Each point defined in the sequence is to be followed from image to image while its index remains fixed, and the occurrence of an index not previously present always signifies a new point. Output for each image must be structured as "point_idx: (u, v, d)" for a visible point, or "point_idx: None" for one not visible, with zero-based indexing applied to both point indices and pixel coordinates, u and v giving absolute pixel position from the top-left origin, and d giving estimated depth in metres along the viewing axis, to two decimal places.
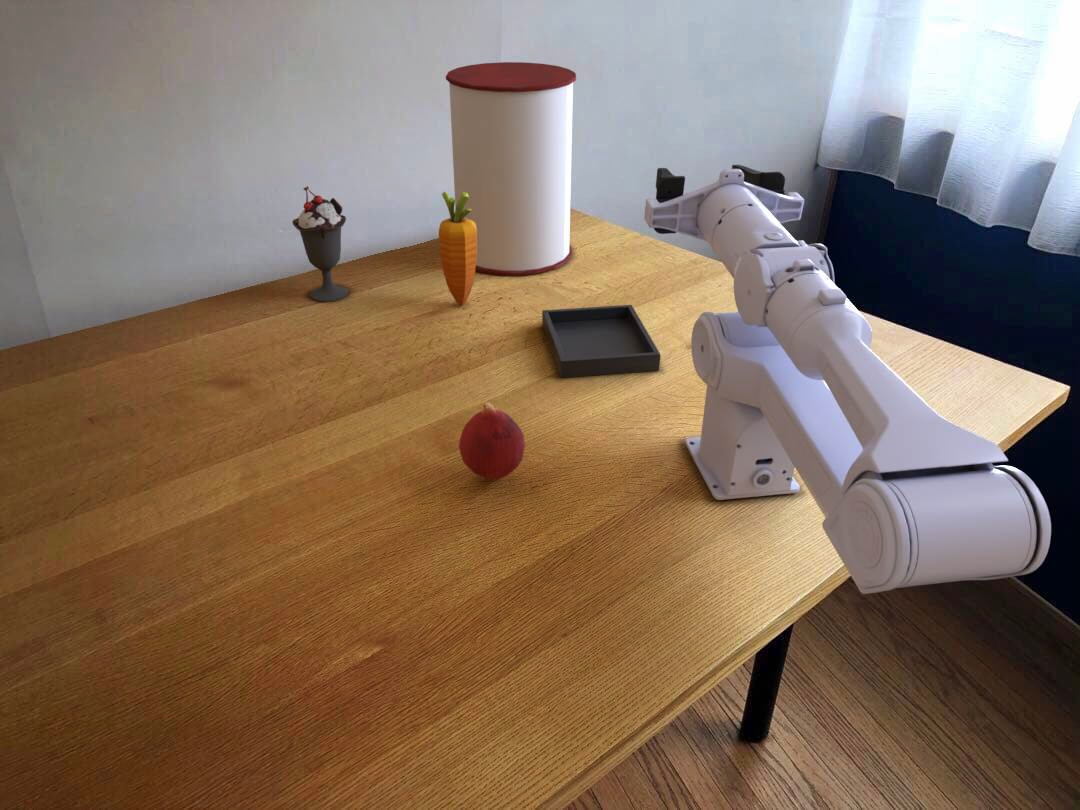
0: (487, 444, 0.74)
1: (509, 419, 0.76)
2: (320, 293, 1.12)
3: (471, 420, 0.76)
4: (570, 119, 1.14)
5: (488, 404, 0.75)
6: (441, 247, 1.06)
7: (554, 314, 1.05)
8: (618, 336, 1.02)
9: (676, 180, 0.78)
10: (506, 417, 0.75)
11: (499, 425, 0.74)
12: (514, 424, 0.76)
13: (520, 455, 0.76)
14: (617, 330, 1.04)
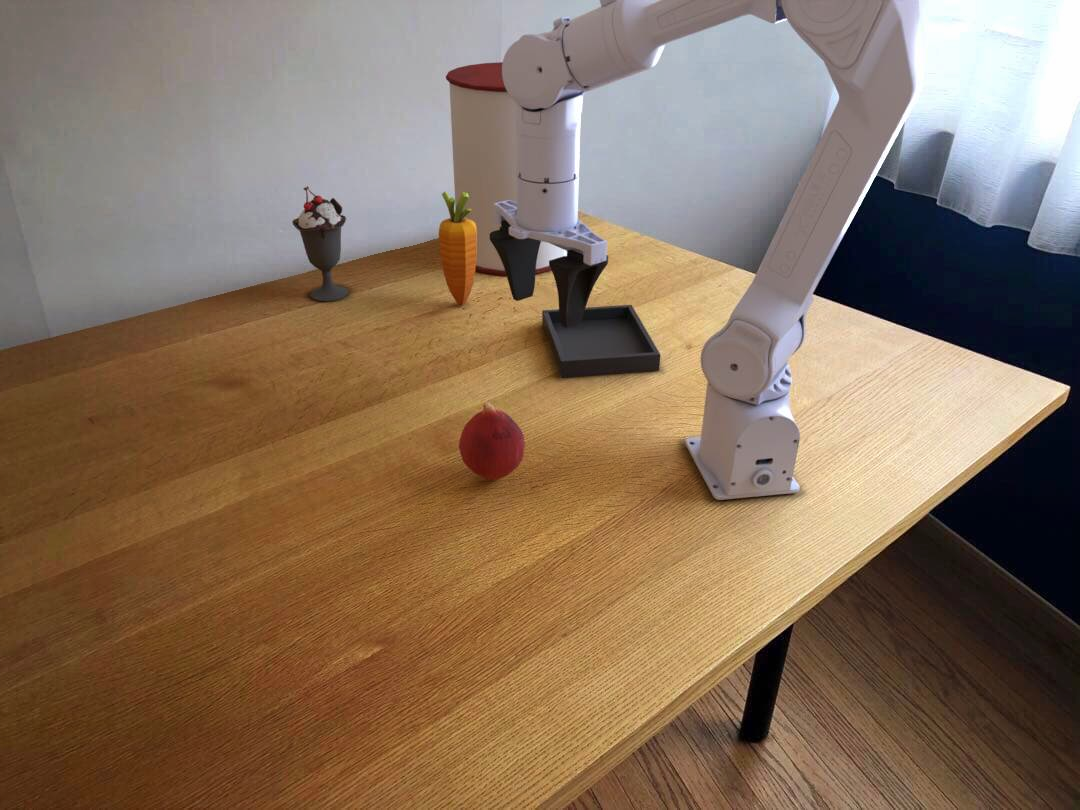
0: (487, 445, 0.74)
1: (509, 419, 0.76)
2: (320, 293, 1.12)
3: (471, 420, 0.76)
4: None
5: (488, 404, 0.75)
6: (441, 247, 1.06)
7: (554, 314, 1.05)
8: (618, 336, 1.02)
9: (556, 262, 0.77)
10: (506, 417, 0.75)
11: (499, 425, 0.74)
12: (514, 424, 0.76)
13: (520, 455, 0.76)
14: (617, 330, 1.04)
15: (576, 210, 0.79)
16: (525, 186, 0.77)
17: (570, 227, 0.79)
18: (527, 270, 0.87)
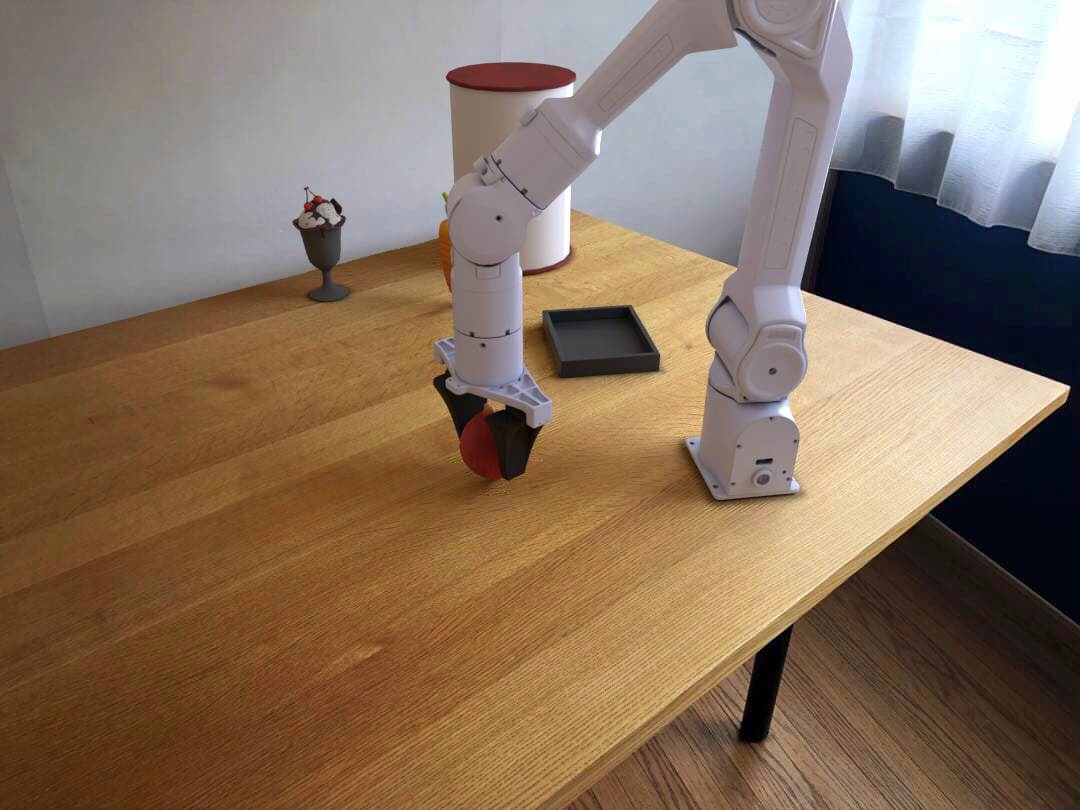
0: (488, 445, 0.74)
1: None
2: (320, 293, 1.12)
3: (471, 420, 0.76)
4: None
5: (488, 404, 0.75)
6: (441, 247, 1.06)
7: (554, 314, 1.05)
8: (618, 336, 1.02)
9: (492, 419, 0.70)
10: None
11: None
12: None
13: None
14: (617, 330, 1.04)
15: (520, 361, 0.71)
16: (462, 339, 0.69)
17: (513, 380, 0.71)
18: None
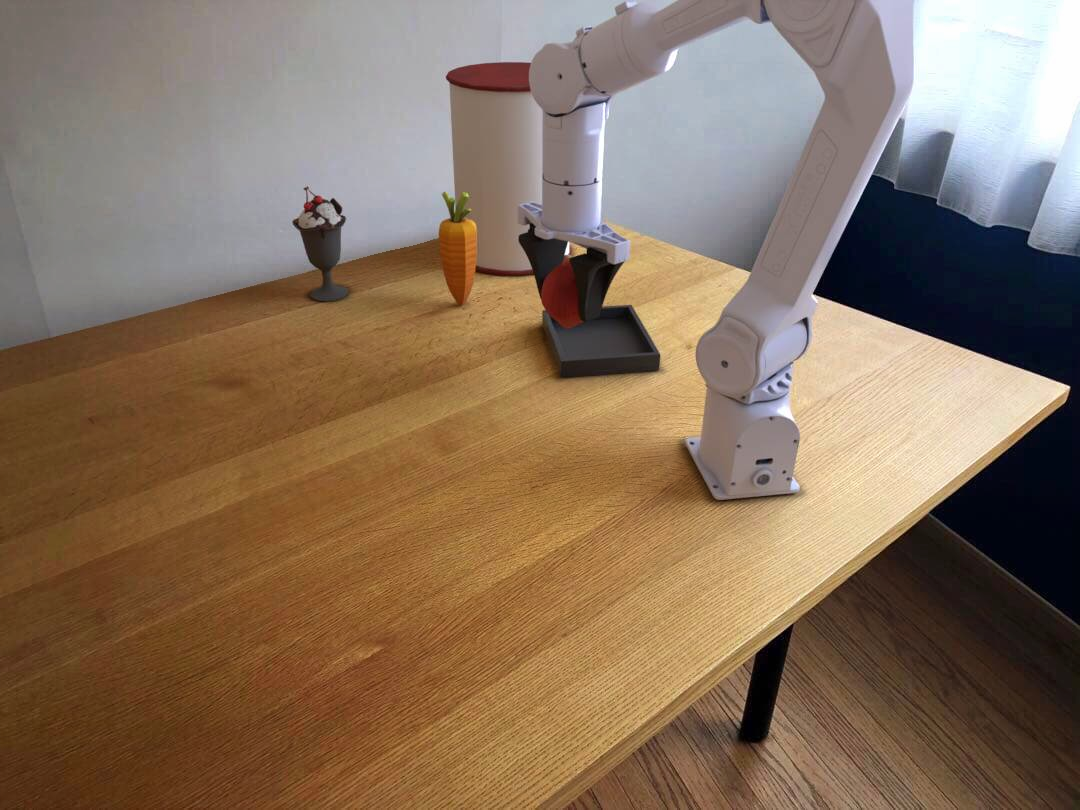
0: (568, 289, 0.85)
1: None
2: (320, 293, 1.12)
3: (552, 271, 0.87)
4: None
5: (568, 255, 0.86)
6: (441, 247, 1.06)
7: None
8: (618, 336, 1.02)
9: (577, 259, 0.81)
10: None
11: None
12: None
13: None
14: (617, 330, 1.04)
15: (599, 211, 0.82)
16: (551, 188, 0.80)
17: (594, 228, 0.82)
18: None
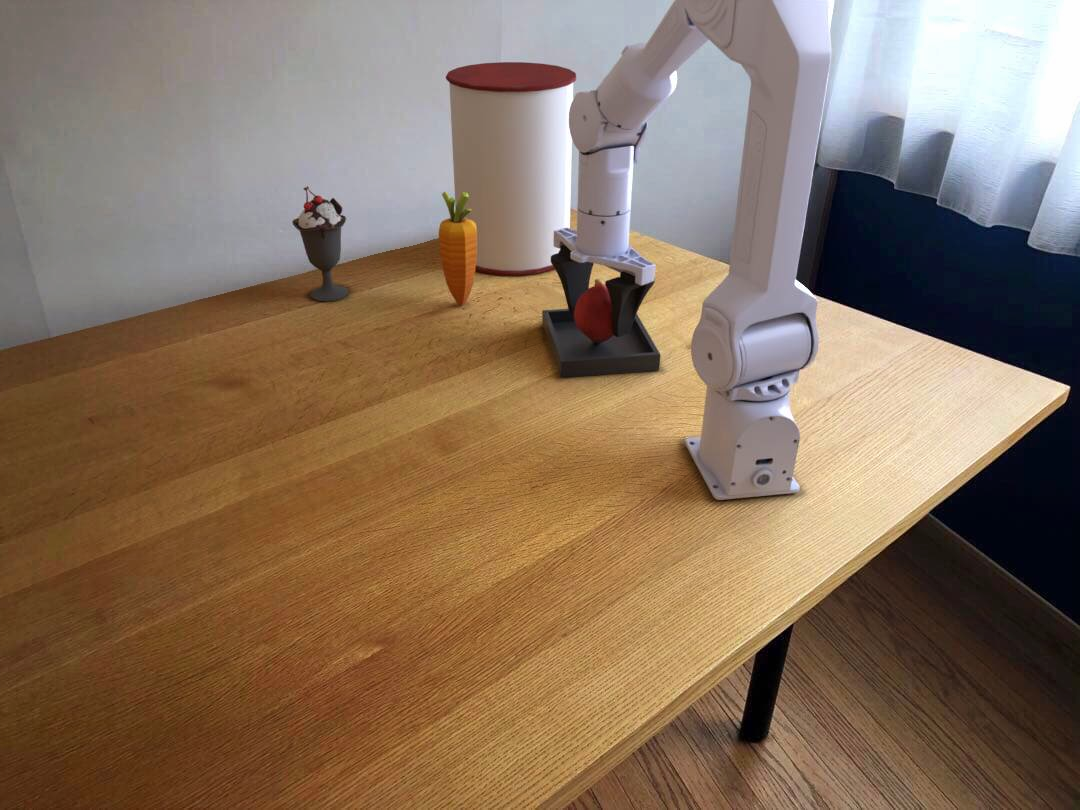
0: (599, 310, 0.96)
1: None
2: (320, 293, 1.12)
3: (584, 293, 0.98)
4: None
5: (599, 279, 0.97)
6: (441, 247, 1.06)
7: (554, 314, 1.05)
8: None
9: (612, 282, 0.91)
10: None
11: (608, 295, 0.96)
12: None
13: None
14: None
15: (627, 238, 0.93)
16: (586, 218, 0.91)
17: (622, 252, 0.93)
18: (582, 287, 1.01)
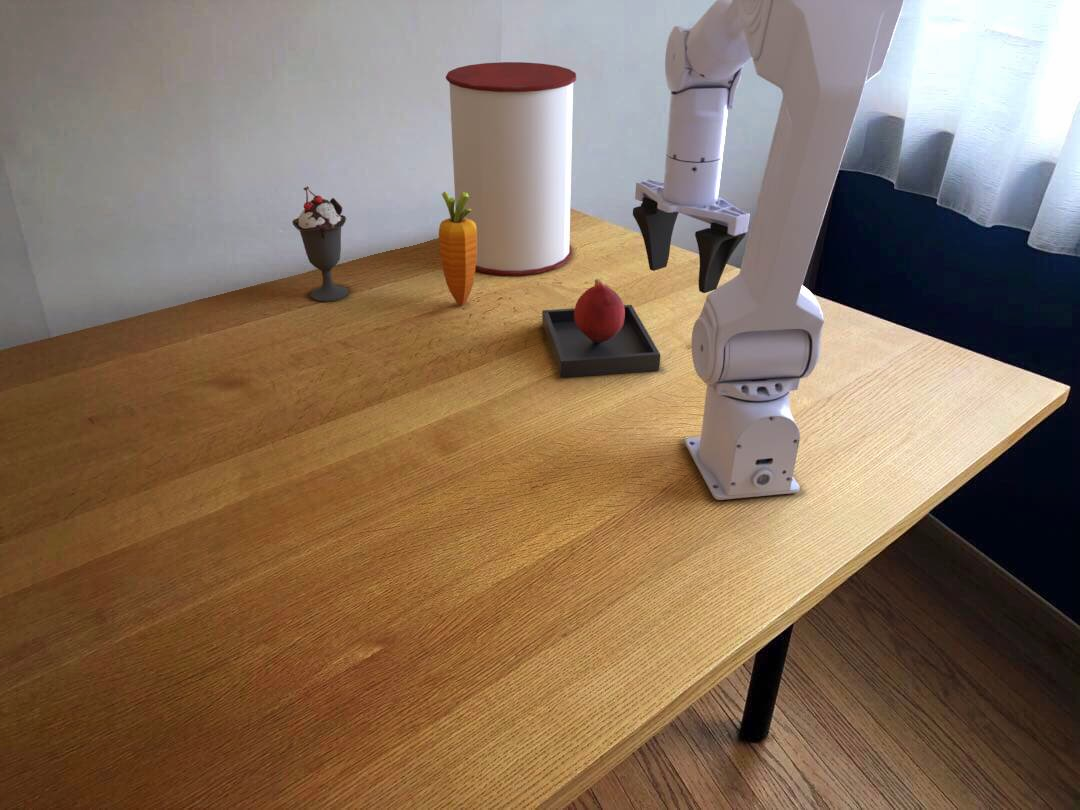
0: (599, 310, 0.96)
1: (614, 292, 0.97)
2: (320, 293, 1.12)
3: (584, 293, 0.98)
4: (570, 119, 1.14)
5: (599, 279, 0.97)
6: (441, 247, 1.06)
7: (554, 314, 1.05)
8: (618, 336, 1.02)
9: (702, 233, 0.87)
10: (612, 290, 0.97)
11: (608, 295, 0.96)
12: (618, 296, 0.98)
13: (622, 321, 0.98)
14: None
15: (718, 187, 0.88)
16: (676, 165, 0.86)
17: (713, 202, 0.88)
18: (663, 243, 0.96)
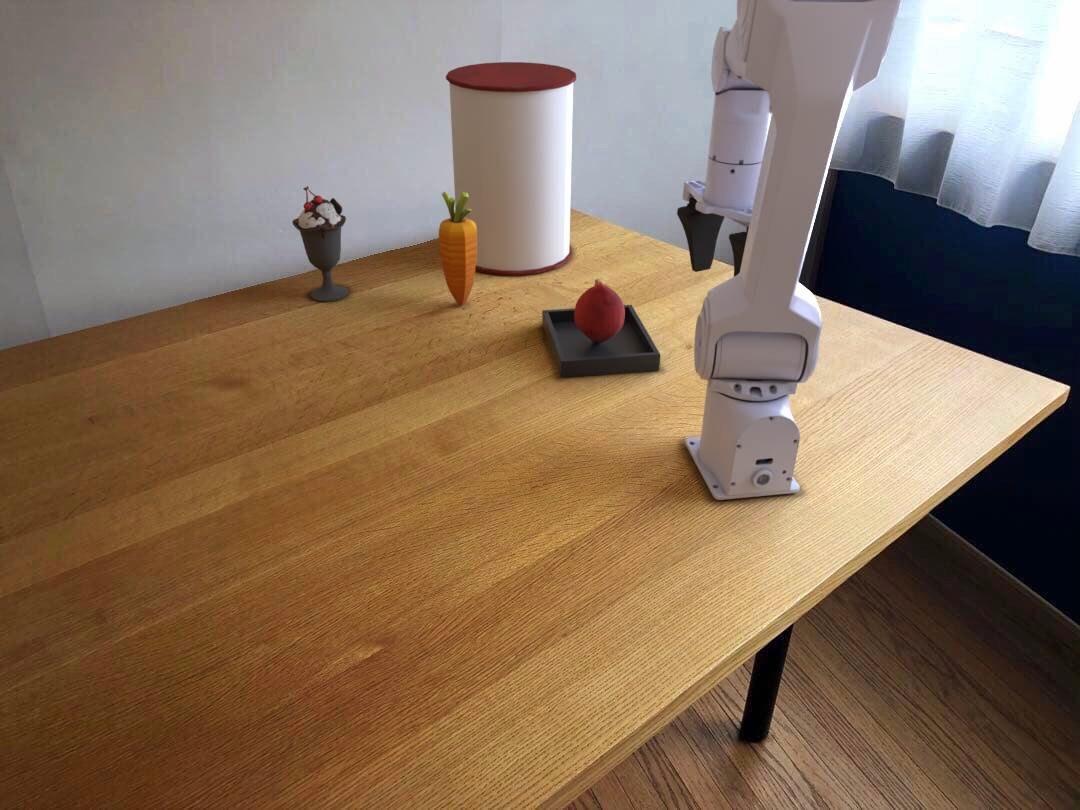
0: (599, 310, 0.96)
1: (614, 292, 0.97)
2: (320, 293, 1.12)
3: (584, 293, 0.98)
4: (570, 119, 1.14)
5: (599, 279, 0.97)
6: (441, 247, 1.06)
7: (554, 314, 1.05)
8: (618, 336, 1.02)
9: (736, 236, 0.86)
10: (612, 290, 0.97)
11: (608, 295, 0.96)
12: (618, 296, 0.98)
13: (622, 321, 0.98)
14: None
15: None
16: (715, 166, 0.86)
17: (752, 206, 0.87)
18: (708, 244, 0.96)
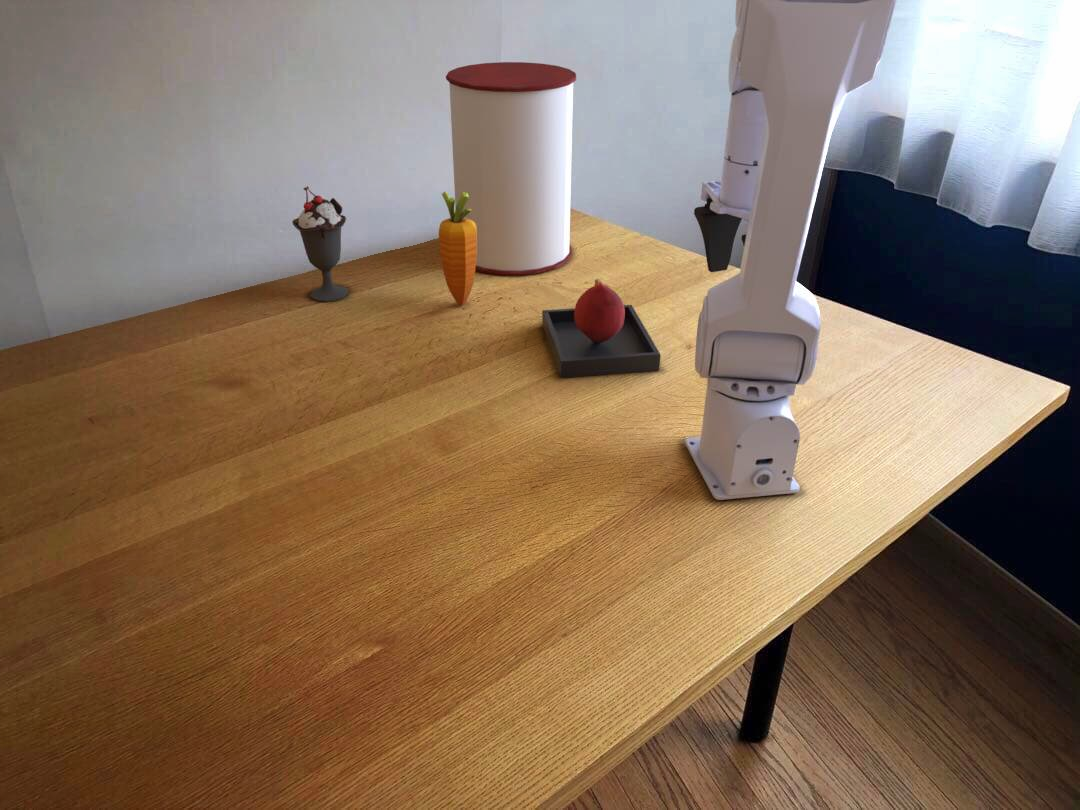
0: (599, 310, 0.96)
1: (614, 292, 0.97)
2: (320, 293, 1.12)
3: (584, 293, 0.98)
4: (570, 119, 1.14)
5: (599, 279, 0.97)
6: (441, 247, 1.06)
7: (554, 314, 1.05)
8: (618, 336, 1.02)
9: None
10: (612, 290, 0.97)
11: (608, 295, 0.96)
12: (618, 296, 0.98)
13: (622, 321, 0.98)
14: None
15: None
16: (730, 166, 0.86)
17: None
18: (724, 245, 0.95)
